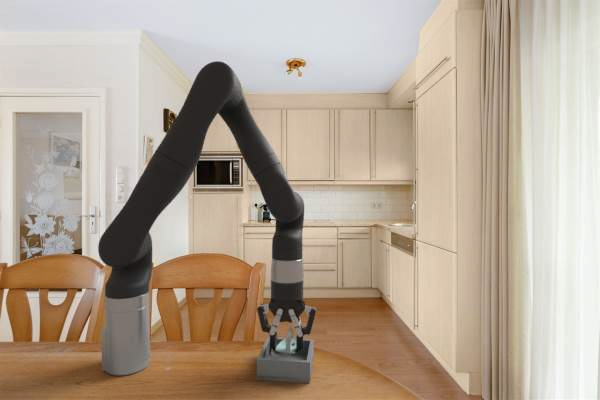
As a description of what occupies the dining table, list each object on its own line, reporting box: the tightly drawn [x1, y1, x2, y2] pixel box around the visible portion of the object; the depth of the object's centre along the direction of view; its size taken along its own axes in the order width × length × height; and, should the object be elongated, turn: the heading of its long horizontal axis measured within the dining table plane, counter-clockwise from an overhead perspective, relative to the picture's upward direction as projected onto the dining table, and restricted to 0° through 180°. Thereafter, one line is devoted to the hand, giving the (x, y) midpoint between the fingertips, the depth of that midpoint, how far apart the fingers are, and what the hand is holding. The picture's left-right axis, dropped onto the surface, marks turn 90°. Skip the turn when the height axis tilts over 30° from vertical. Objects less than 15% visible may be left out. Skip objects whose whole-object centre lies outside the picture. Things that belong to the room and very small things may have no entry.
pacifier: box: [271, 326, 296, 358], centre depth 83 cm, size 7×6×6 cm
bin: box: [256, 336, 315, 384], centre depth 83 cm, size 12×12×4 cm
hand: (286, 349), depth 83 cm, fingers closed on pacifier, 5 cm apart
